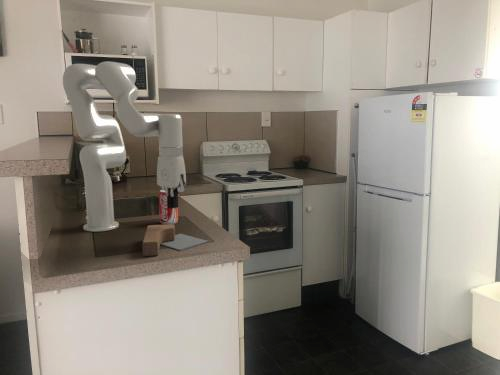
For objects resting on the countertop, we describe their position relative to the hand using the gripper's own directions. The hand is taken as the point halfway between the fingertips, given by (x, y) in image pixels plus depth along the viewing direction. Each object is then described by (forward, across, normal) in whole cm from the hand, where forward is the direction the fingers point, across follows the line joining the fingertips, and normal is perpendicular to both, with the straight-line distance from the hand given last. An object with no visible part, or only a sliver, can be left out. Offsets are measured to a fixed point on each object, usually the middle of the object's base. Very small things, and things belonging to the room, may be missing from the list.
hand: (172, 207), depth 137 cm
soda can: (+12, -21, +14) cm, 28 cm away
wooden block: (+8, -5, -1) cm, 10 cm away
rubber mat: (+11, +3, 0) cm, 12 cm away
